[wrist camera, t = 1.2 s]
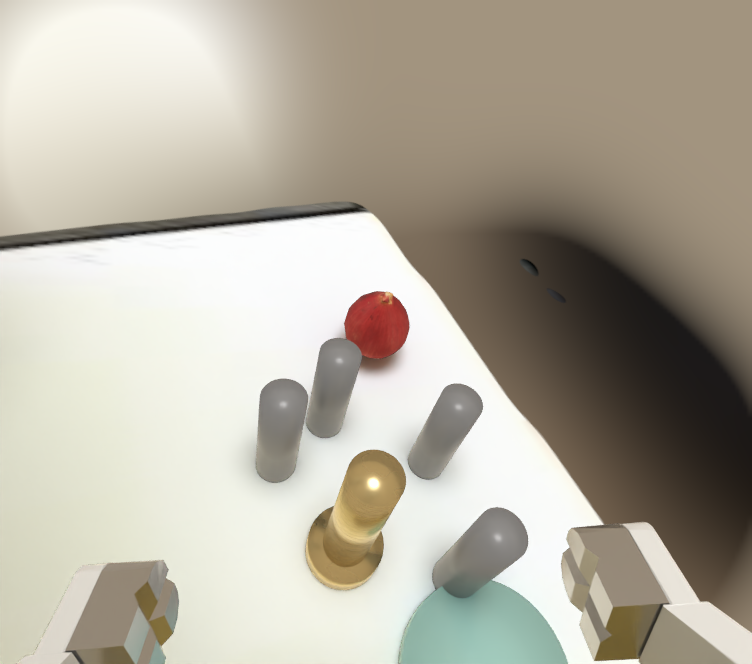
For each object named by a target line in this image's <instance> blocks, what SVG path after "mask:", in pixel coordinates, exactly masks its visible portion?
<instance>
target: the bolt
mask: <svg viewBox="0 0 752 664" xmlns="http://www.w3.org/2000/svg"><path fill="white" fill-rule="evenodd" d="M405 486H406V476H405V472H404V470H403V467H402V466H401V464H400V463H399V462H398V460H397V459H396V458H394V457H393V456H392V455H390V454H389V453H386V452H384V451H380V450H367V451H364V452H361V453H359V454H358V455H357V456H355V457H354V458H353V459H352V461H351V462H350V464H349V467H348V469H347V472H346V475H345V478H344V481H343V483H342V486H341V489H340V492H339V494H338V497H337V500H336V503H335V505H334V506H333V507H331V508H329V509H327V510H325V511H324V512H322V513H321V514H320V515H319V516H318V517H317V518H316V519H315V521H314V522H313V524H312V526H311V529H310V532H309V535H308V538H307V542H306V559H307V563H308V566H309V568H310V570H311V572H312V573H313V575H314V576H315V577H316V578H317V579H318V580H319V581H320V582H321V583H323V584H324V585H326V586H328V587H330V588H333V589H337V590H350V589H353V588H356V587H359V586H360V585H362V584H363V583H365V582H366V581H367V580H368V579H369V578H370V577H371V575H372V574H373V573H374V571H375V570H376V568H377V567H378V565H379V563H380V561H381V558H382V554H383V548H384V544H383V536H382V532H381V530H382V528H383V526H384V525H385V523H386V521H387V519H388V518H389V516H390V514H391V513H392V511H393V509H394V507H395V506H396V504H397V502H398V501H399V499H400V497H401V496H402V494H403V492H404V489H405Z"/></svg>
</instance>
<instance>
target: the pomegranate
mask: <svg viewBox="0 0 752 664" xmlns="http://www.w3.org/2000/svg"><path fill="white" fill-rule="evenodd" d="M344 325H345V332H346V338H347V340H349V341H351V342H353V343H354V344H356V345H357V346H358V347H359V349H360V351H361V353H362V355H363V356H366V357H369V358H379V359H381V358H384V357H387V356H390V355H392V354H394V353H395V352H396V351H398V350H399V349H400V348H401V347H402V346H403V344H404V343H405V341H406V338H407V335H408V332H409V320H408V315H407V312H406V309H405V308H404V306H403V305H402V304H401V302H400V301H399V300H398V299H397V298H396V297H394V296H393V294H392V293H390V292H378V291H376V292H372V293H369V294H366V295H363V296H361V297H360V298H359V299H358V300H357V301H356V302H355V303H353V304H352V306H351V307H350V308H349V310H348V313H347V316H346V319H345V323H344Z"/></svg>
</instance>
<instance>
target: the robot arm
mask: <svg viewBox="0 0 752 664" xmlns="http://www.w3.org/2000/svg"><path fill="white" fill-rule="evenodd" d="M566 540H567V542H568V544H569V547H570V548H569V549H567V550H566V551H565V552H564V553H563V556H562V561H561V569H562V578H563V582H564V586H565V589H566V592H567V595H568V597H569V600H570V602H571V603H572V604H573V605H574V606H575V607H577V608H578V609H579V610H580V611H581V612H582V617H581V621H580V628H581V630H582V633H583V635H584V638H585V640H586V643H587V645H588V648H589V650H590V653H591V655H592V658H593V660H594V661H606V660H626V659H639V661H638V662H639V663H640V664H752V633H751V632H749V631H748V630H746V629H745V628H744V627H742V626H741V625H740V624H738V623H737V622H736V621H734V620H733V619H731V618H730V617H729V616H727V615H726V614H724V613H723V612H722V611H720V610H719V609H718V608H716V607H715V606H713V605H712V604H711V603H709V602H700V601H699V599H698V598H697V596H696V595H695V593H694V591H693V590H692V588H691V587H690V585H689V583H688V582H687V580H686V579H685V577H684V576H683V574H682V572H681V571H680V569H679V568H678V566H677V565H676V563H675V561H674V560H673V558H672V557H671V555H670V554H669V552H668V550H667V549H666V547H665V546H664V544H663V542H662V541H661V539H660V538H659V536H658V535H657V533H656V531H655V530H654V528H653V527H652V526H651V525H649V524H648V523H645V522H638V523H628V524H609V525H598V526H587V527H576V528H571V529H570V530H569V531H568V534H567V538H566ZM167 572H168V568H167V566H166V564H165V562H164V560H153V561H137V562H121V563H102V564H89V565H82V566H81V567H80V569H79V570H78V571H77V572H76V573H75V574H74V576H73V578H72V580H71V581H70V583H69V585H68V587H67V589H66V591H65V593H64V595H63V597H62V599H61V601H60V603H59V605H58V607H57V609H56V611H55V613H54V615H53V617H52V619H51V621H50V623H49V625H48V626H47V628H46V630H45V632H44V634H43V636H42V638H41V640H40V642H39V644H38V646H37V648H36V650H35V652H34V654H33V655H26V656H24V657H23V658H22V659H21V660H20V661H18V662H17V663H16V664H164V663H165V659H166V657H165V654H164V652H163V649H162V645H163V644H164V643H165V642H166V641H167V639H168V638H169V637H170V636H171V635H172V634H173V632H174V628H175V624H176V621H177V616H178V606H179V598H178V591H177V588H176V586H175V584H174V583H173V582H171V581H170V580H168V579H166V576H167Z"/></svg>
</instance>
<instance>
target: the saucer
mask: <svg viewBox="0 0 752 664" xmlns="http://www.w3.org/2000/svg"><path fill="white" fill-rule="evenodd" d="M398 664H568V662H567V659H566V656H565V654H564V651H563V649H562V647H561V644H560V642H559V640H558V639H557V637H556V635H555V633H554V631H553V630H552V628H551V627H550V625H549V624H548V622H547V621H546V620H545V618H544V617H543V616H542V615H541V614H540V612H539V611H538V610H537V609H536V608H535V607H534V606H533V605H532V604H531V603H530V602H529V601H528V600H526V599H525V598H524V597H523V596H521V595H520V594H519V593H517V592H516V591H514V590H512V589H511V588H509V587H507V586H505V585H503V584H501V583H498V582H495V581H492V580H491V581H489V582H488V583H487V584H486V585H484V586H483V587H482V588H480V589H479V590H478V591H476V592H475V593H474V594H473V595H471V596H469V597H467V598H457V597H454V596H452V595H451V594H449V593H448V592H447V591H446V590H445V589H444V588H443V587H440V588H438V589H437V590H435V591H434V592H433V593H432V594H431V595H430V596H429V597H428V598H426V599H425V600H424V601H423V602H422V603H421V605H420V606H419V607H418V608H417V609H416V611H415V612H414V614H413V616H412V617H411V619H410V620H409V623H408V625H407V627H406V630H405V632H404V635H403V639H402V642H401V647H400V653H399V662H398Z"/></svg>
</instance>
